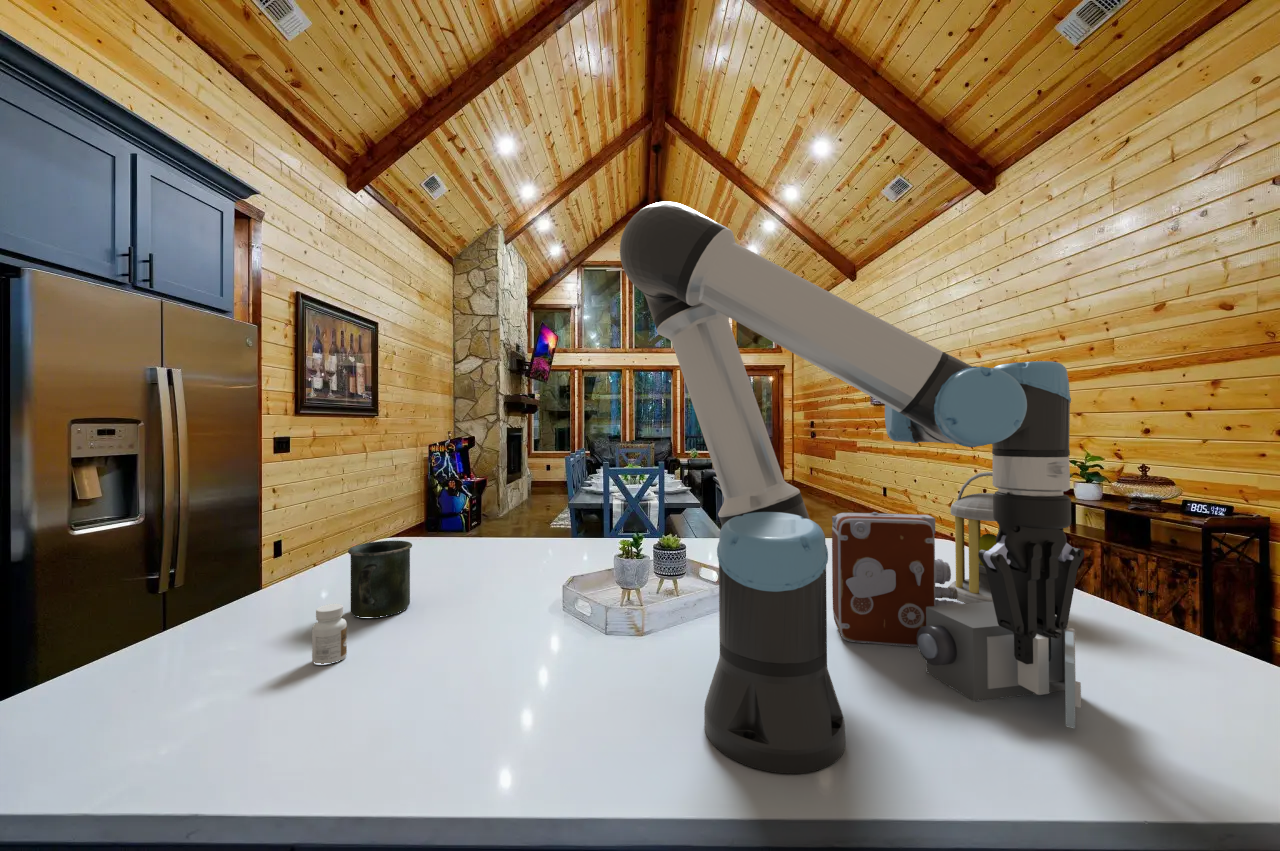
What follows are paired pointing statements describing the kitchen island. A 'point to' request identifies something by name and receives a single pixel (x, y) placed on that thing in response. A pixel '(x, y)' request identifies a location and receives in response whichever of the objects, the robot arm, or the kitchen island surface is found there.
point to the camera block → (978, 652)
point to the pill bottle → (329, 634)
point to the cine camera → (885, 576)
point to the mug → (380, 578)
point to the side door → (1070, 678)
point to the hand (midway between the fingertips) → (1033, 688)
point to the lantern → (972, 543)
